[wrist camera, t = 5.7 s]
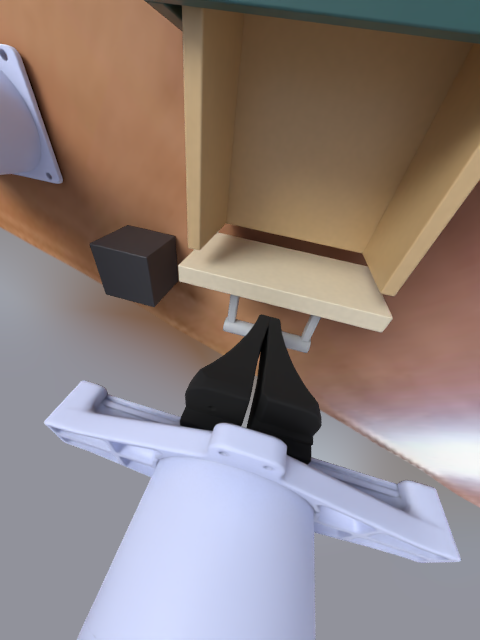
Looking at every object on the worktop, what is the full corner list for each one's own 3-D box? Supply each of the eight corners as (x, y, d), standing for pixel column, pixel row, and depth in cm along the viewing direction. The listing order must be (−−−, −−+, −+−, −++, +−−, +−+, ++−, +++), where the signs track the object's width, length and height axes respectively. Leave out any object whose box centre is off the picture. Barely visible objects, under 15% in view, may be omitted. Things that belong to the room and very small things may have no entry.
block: (136, 270, 25) (105, 294, 21) (127, 224, 21) (88, 243, 18) (178, 281, 24) (154, 307, 20) (175, 235, 21) (146, 257, 17)
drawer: (337, 321, 22) (346, 377, 17) (209, 289, 23) (181, 332, 18) (515, 14, 10) (738, -117, 5) (225, -19, 11) (152, -153, 6)
